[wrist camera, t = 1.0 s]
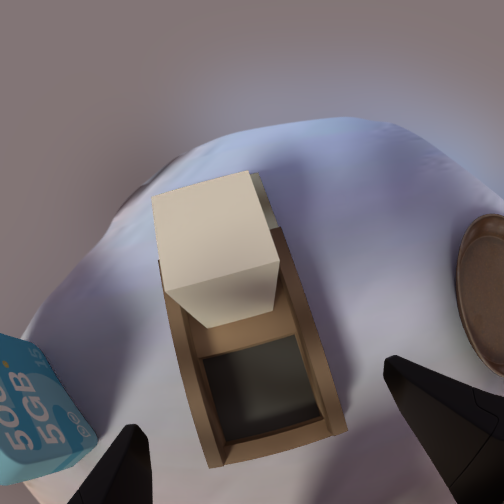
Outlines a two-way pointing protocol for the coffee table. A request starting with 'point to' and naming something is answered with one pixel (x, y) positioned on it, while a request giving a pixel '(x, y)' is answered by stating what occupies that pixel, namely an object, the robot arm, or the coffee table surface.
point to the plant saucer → (483, 289)
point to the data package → (36, 417)
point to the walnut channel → (257, 371)
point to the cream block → (216, 250)
